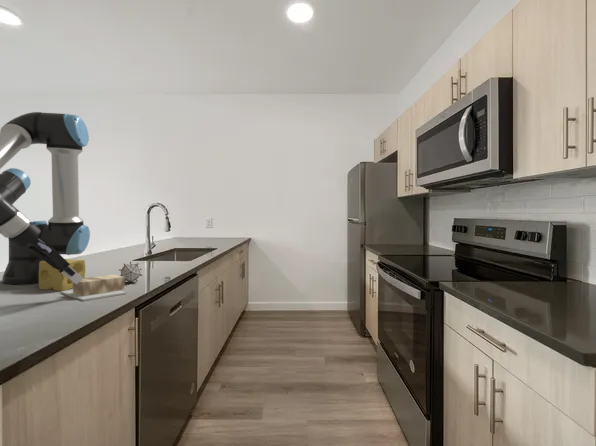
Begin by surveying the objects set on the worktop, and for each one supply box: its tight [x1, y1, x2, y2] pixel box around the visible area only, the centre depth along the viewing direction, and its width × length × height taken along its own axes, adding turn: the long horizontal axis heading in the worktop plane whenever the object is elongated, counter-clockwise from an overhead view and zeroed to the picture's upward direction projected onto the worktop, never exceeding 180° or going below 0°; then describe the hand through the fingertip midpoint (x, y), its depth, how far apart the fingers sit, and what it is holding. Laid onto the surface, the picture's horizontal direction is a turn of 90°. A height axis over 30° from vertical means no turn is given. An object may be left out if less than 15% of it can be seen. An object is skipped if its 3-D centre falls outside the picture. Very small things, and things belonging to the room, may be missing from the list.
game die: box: [118, 261, 143, 284], centre depth 143 cm, size 9×8×10 cm
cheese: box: [38, 258, 86, 292], centre depth 131 cm, size 10×11×10 cm
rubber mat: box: [60, 289, 127, 302], centre depth 123 cm, size 14×16×1 cm
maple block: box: [72, 274, 126, 296], centre depth 124 cm, size 4×7×14 cm
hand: (79, 280), depth 118 cm, fingers closed
